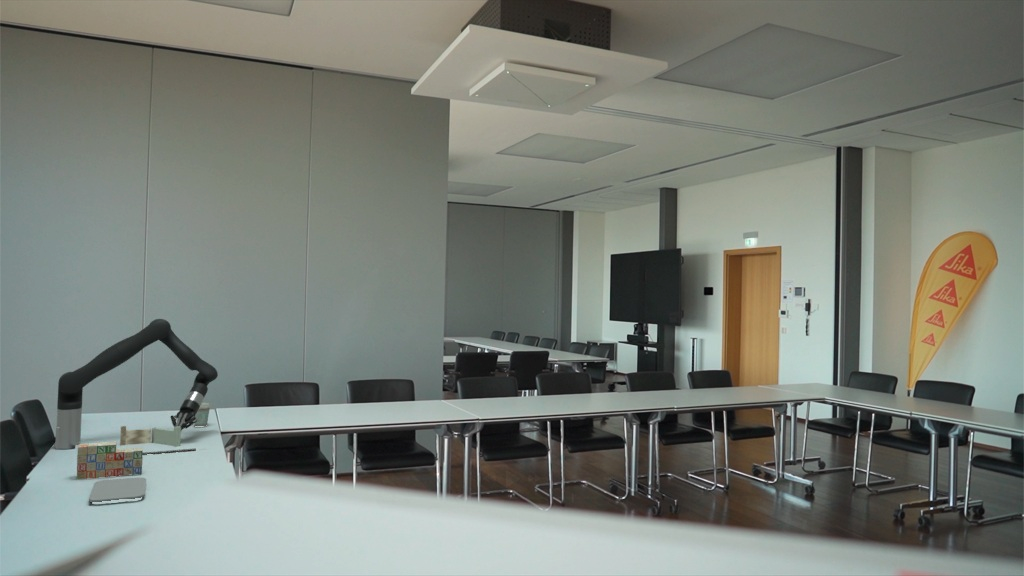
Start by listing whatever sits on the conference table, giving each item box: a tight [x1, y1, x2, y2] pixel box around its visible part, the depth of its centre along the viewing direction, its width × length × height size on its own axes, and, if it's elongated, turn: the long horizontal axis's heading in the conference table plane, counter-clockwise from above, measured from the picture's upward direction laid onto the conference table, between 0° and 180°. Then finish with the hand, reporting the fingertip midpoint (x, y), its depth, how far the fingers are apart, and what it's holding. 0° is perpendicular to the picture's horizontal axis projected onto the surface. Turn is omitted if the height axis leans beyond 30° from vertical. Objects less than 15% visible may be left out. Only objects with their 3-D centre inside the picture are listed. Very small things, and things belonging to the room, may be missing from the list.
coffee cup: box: [193, 402, 211, 427], centre depth 358 cm, size 9×9×12 cm
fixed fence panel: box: [119, 425, 152, 446], centre depth 307 cm, size 12×2×8 cm, turn 122°
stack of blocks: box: [76, 441, 144, 480], centre depth 259 cm, size 21×6×12 cm, turn 117°
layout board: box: [142, 448, 197, 456], centre depth 306 cm, size 30×27×1 cm
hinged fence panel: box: [150, 426, 182, 447], centre depth 308 cm, size 16×2×8 cm, turn 69°
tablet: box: [88, 476, 147, 502], centre depth 236 cm, size 16×26×2 cm, turn 27°
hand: (175, 434), depth 308 cm, fingers closed
